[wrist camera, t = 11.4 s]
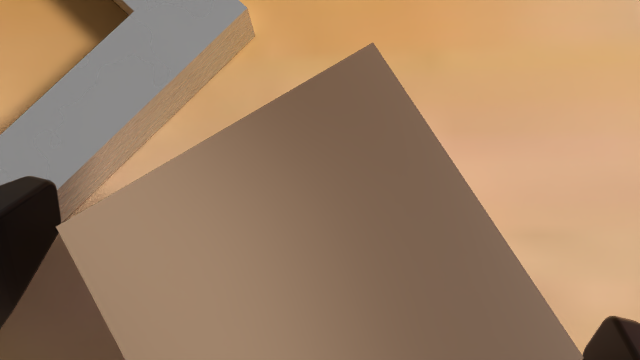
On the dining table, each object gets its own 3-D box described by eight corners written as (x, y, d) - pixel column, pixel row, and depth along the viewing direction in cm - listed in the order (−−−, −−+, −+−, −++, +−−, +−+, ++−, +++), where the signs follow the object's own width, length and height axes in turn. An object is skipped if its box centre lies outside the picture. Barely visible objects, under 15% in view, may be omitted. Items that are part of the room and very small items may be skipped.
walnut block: (296, 388, 17) (242, 585, 6) (223, 260, 17) (56, 226, 7) (421, 309, 17) (583, 358, 6) (344, 186, 18) (372, 42, 7)
